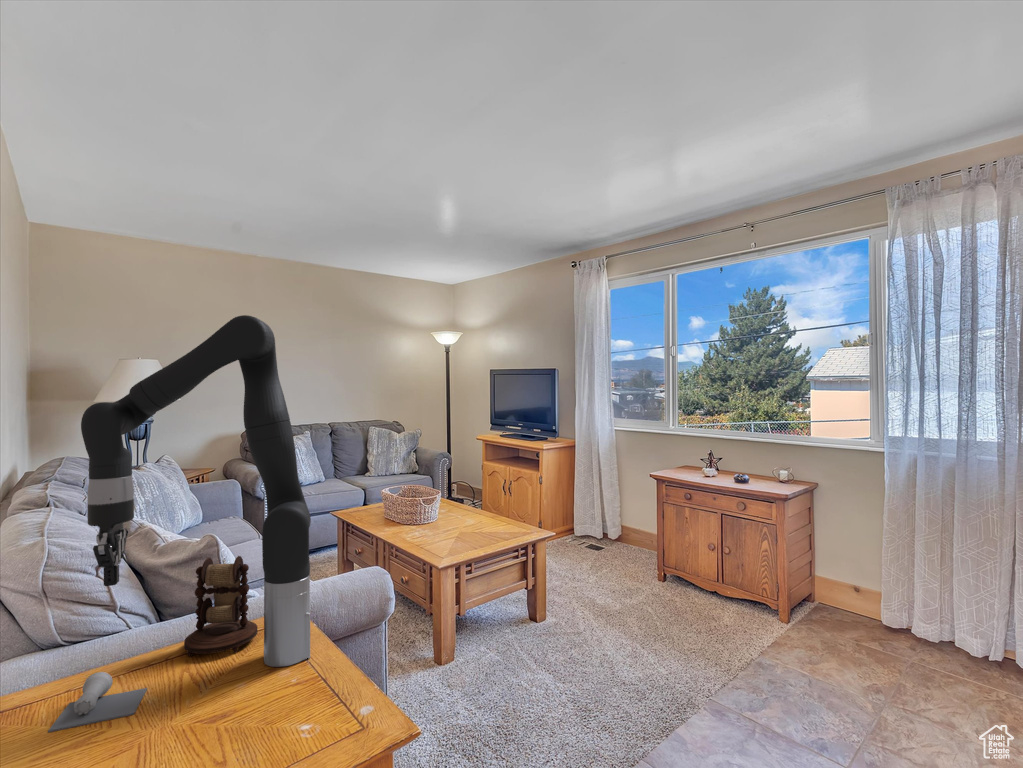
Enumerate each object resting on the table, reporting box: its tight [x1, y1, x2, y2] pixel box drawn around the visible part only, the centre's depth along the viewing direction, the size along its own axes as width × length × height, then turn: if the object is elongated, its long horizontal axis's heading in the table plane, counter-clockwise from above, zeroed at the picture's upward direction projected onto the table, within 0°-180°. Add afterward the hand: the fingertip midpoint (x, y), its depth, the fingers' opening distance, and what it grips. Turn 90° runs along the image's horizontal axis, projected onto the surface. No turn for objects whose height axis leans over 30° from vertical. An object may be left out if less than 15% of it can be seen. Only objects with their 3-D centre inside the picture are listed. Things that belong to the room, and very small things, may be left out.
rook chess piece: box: [74, 671, 113, 715], centre depth 94 cm, size 4×4×8 cm
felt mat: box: [47, 687, 148, 733], centre depth 93 cm, size 12×9×1 cm
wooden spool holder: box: [183, 555, 258, 657], centre depth 119 cm, size 15×15×20 cm
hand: (111, 584), depth 105 cm, fingers closed
